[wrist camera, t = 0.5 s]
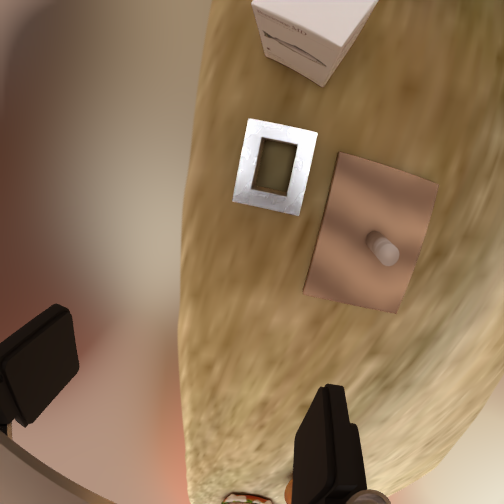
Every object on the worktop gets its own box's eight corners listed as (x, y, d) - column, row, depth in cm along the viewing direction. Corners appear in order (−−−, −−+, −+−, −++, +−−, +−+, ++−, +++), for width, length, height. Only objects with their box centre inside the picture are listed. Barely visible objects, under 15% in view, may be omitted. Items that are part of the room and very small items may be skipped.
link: (254, 123, 29) (248, 118, 25) (314, 136, 29) (317, 132, 25) (239, 196, 32) (232, 201, 28) (298, 209, 31) (298, 216, 27)
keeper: (338, 152, 29) (350, 150, 23) (435, 183, 28) (463, 190, 22) (302, 290, 34) (304, 318, 28) (394, 309, 33) (410, 338, 27)
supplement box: (263, 56, 27) (245, 2, 15) (297, 11, 24) (298, -54, 12) (322, 90, 27) (341, 49, 15) (356, 43, 25) (386, -12, 13)
